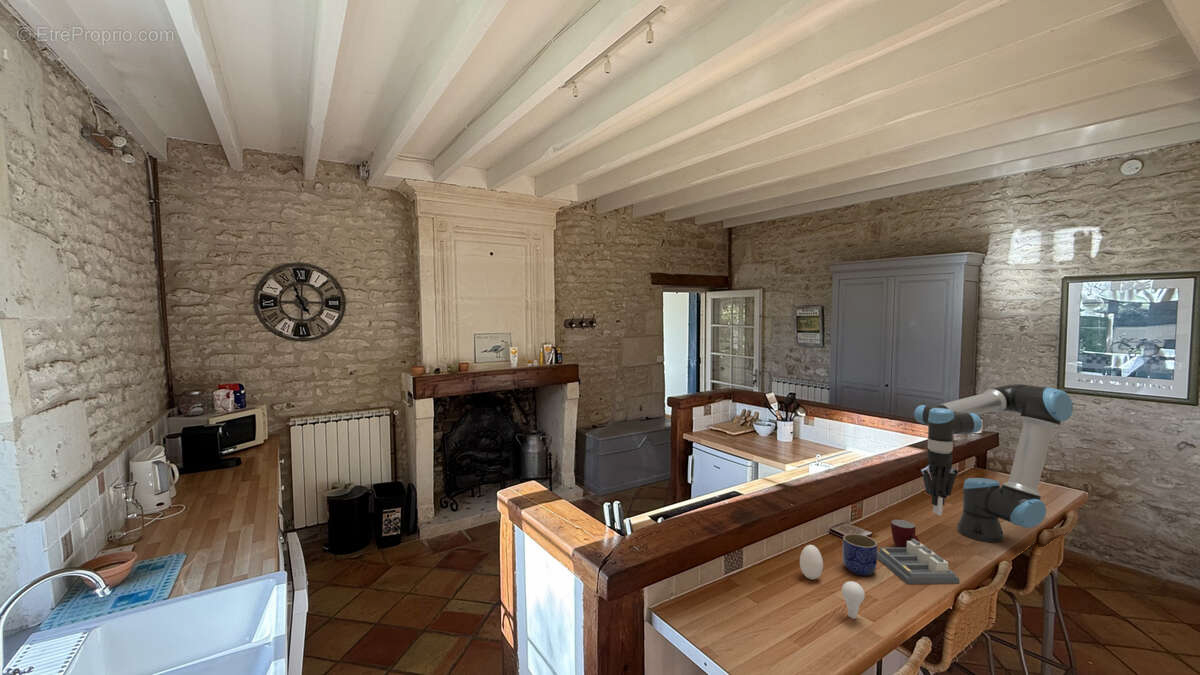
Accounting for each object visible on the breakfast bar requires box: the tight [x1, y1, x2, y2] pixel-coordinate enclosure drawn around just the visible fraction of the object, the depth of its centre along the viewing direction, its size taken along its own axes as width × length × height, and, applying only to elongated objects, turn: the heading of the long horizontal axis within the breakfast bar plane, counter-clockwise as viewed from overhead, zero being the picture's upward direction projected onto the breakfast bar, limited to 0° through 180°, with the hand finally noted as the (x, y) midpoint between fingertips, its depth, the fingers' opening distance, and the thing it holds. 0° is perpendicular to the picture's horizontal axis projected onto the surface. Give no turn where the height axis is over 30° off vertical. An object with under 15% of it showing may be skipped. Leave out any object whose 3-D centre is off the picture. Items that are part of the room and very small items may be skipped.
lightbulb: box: [841, 580, 866, 620], centre depth 146 cm, size 6×6×11 cm
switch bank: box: [877, 547, 960, 585], centre depth 174 cm, size 18×18×4 cm
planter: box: [842, 533, 878, 576], centre depth 173 cm, size 11×11×11 cm
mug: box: [890, 519, 920, 548], centre depth 188 cm, size 11×8×10 cm
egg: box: [799, 544, 824, 580], centre depth 168 cm, size 7×7×12 cm
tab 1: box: [906, 539, 925, 555], centre depth 180 cm, size 4×4×6 cm
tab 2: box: [917, 545, 937, 563], centre depth 174 cm, size 4×4×6 cm
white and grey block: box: [928, 554, 949, 572], centre depth 168 cm, size 4×4×6 cm
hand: (937, 513), depth 179 cm, fingers closed
